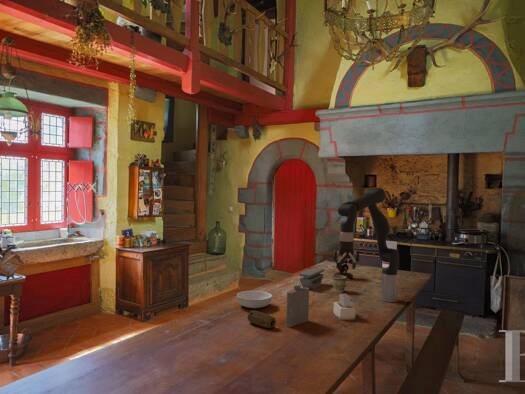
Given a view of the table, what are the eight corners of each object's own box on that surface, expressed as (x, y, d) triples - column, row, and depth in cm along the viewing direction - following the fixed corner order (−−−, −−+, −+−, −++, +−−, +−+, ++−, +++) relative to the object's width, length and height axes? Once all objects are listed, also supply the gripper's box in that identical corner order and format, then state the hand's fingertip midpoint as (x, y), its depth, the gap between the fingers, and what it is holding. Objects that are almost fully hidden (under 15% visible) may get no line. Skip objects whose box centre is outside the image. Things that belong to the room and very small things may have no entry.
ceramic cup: (329, 292, 270) (330, 277, 270) (333, 288, 279) (333, 274, 279) (349, 294, 265) (349, 279, 265) (351, 291, 274) (352, 276, 274)
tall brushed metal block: (345, 311, 224) (345, 293, 224) (349, 315, 217) (350, 297, 217) (339, 311, 224) (339, 293, 224) (343, 315, 217) (343, 297, 217)
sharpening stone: (309, 291, 271) (309, 275, 271) (298, 289, 275) (299, 273, 275) (323, 283, 292) (324, 269, 292) (313, 282, 297) (314, 267, 296)
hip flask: (289, 327, 200) (290, 288, 199) (283, 325, 203) (284, 286, 202) (309, 320, 211) (310, 283, 211) (303, 318, 214) (304, 282, 213)
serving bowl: (279, 306, 235) (279, 295, 235) (254, 314, 220) (254, 302, 219) (254, 299, 249) (254, 288, 249) (229, 305, 234) (229, 294, 234)
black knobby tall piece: (338, 275, 323) (339, 250, 322) (355, 277, 314) (356, 252, 314) (330, 278, 311) (331, 252, 311) (348, 281, 302) (349, 255, 302)
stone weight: (245, 324, 204) (245, 311, 203) (253, 320, 209) (253, 308, 209) (269, 331, 195) (270, 317, 195) (277, 327, 201) (277, 314, 201)
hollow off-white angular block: (347, 312, 227) (348, 301, 227) (355, 319, 215) (355, 308, 215) (333, 312, 226) (333, 302, 226) (340, 319, 214) (340, 308, 214)
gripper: (356, 239, 224) (355, 267, 225) (332, 239, 222) (331, 267, 223) (361, 241, 217) (360, 270, 217) (336, 240, 215) (335, 270, 216)
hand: (345, 269), depth 220 cm, fingers open, 8 cm apart
